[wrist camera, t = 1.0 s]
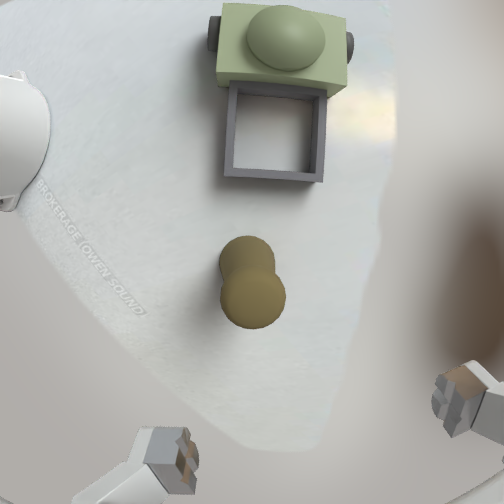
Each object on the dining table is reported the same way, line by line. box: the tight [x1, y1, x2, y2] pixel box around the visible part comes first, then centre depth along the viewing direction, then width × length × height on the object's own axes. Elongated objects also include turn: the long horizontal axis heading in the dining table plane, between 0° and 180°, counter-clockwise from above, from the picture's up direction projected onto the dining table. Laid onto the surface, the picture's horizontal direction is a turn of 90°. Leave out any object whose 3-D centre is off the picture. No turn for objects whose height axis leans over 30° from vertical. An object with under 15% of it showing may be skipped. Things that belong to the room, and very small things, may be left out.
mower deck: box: [208, 3, 354, 183], centre depth 25 cm, size 14×18×6 cm
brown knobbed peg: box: [219, 236, 286, 329], centre depth 27 cm, size 6×6×11 cm
